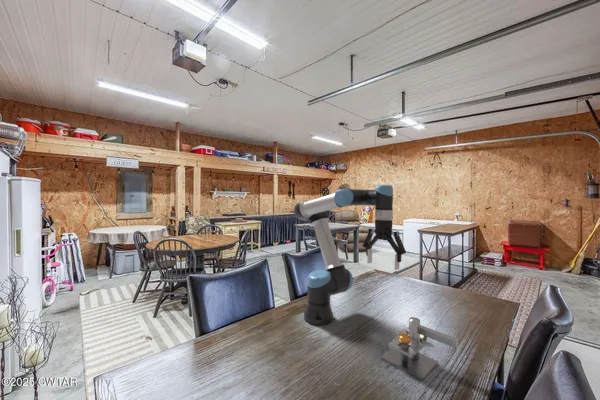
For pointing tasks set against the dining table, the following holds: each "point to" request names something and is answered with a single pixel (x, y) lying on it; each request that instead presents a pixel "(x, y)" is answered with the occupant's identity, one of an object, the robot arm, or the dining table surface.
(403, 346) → the gold knobbed rod
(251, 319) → the dining table surface
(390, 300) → the dining table surface
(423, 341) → the pipe fitting
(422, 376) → the grey lever mechanism
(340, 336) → the dining table surface
